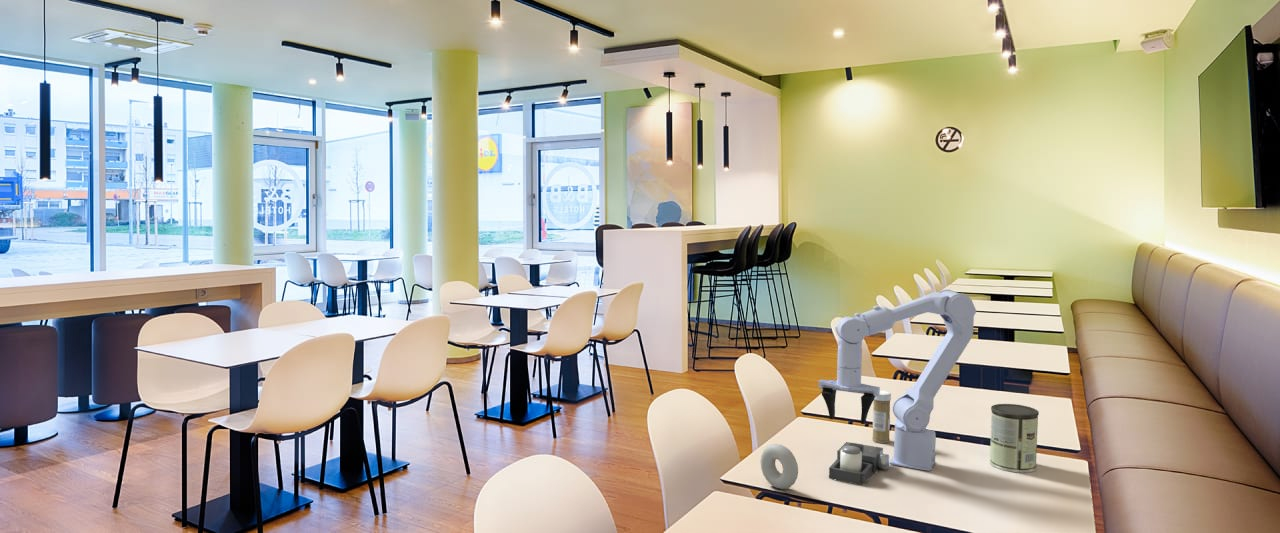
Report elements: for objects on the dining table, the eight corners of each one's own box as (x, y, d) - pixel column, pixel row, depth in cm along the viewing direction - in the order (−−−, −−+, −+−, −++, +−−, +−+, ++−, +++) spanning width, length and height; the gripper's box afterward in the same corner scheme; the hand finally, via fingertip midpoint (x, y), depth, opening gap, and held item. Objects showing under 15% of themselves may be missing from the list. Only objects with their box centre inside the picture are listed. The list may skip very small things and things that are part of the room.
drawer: (891, 465, 180) (891, 445, 180) (883, 475, 173) (884, 454, 173) (845, 457, 186) (846, 438, 185) (836, 467, 179) (837, 446, 178)
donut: (756, 483, 168) (757, 440, 168) (767, 479, 170) (767, 437, 170) (790, 496, 161) (791, 451, 160) (801, 493, 163) (802, 448, 162)
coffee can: (996, 455, 187) (999, 401, 186) (1041, 465, 180) (1044, 408, 179) (982, 466, 180) (985, 409, 179) (1029, 476, 173) (1031, 417, 172)
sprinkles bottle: (893, 441, 198) (894, 392, 197) (882, 444, 196) (883, 395, 195) (879, 437, 202) (880, 389, 201) (868, 440, 199) (869, 391, 198)
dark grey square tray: (873, 472, 175) (873, 462, 175) (863, 485, 167) (864, 474, 167) (839, 466, 179) (839, 456, 179) (828, 478, 171) (828, 468, 171)
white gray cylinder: (863, 475, 173) (864, 447, 173) (857, 481, 169) (858, 452, 169) (843, 471, 176) (844, 443, 175) (837, 477, 172) (837, 449, 171)
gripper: (815, 365, 181) (813, 420, 182) (876, 373, 173) (874, 429, 175) (823, 360, 187) (822, 413, 188) (882, 367, 180) (880, 422, 181)
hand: (847, 420), depth 182 cm, fingers open, 7 cm apart
